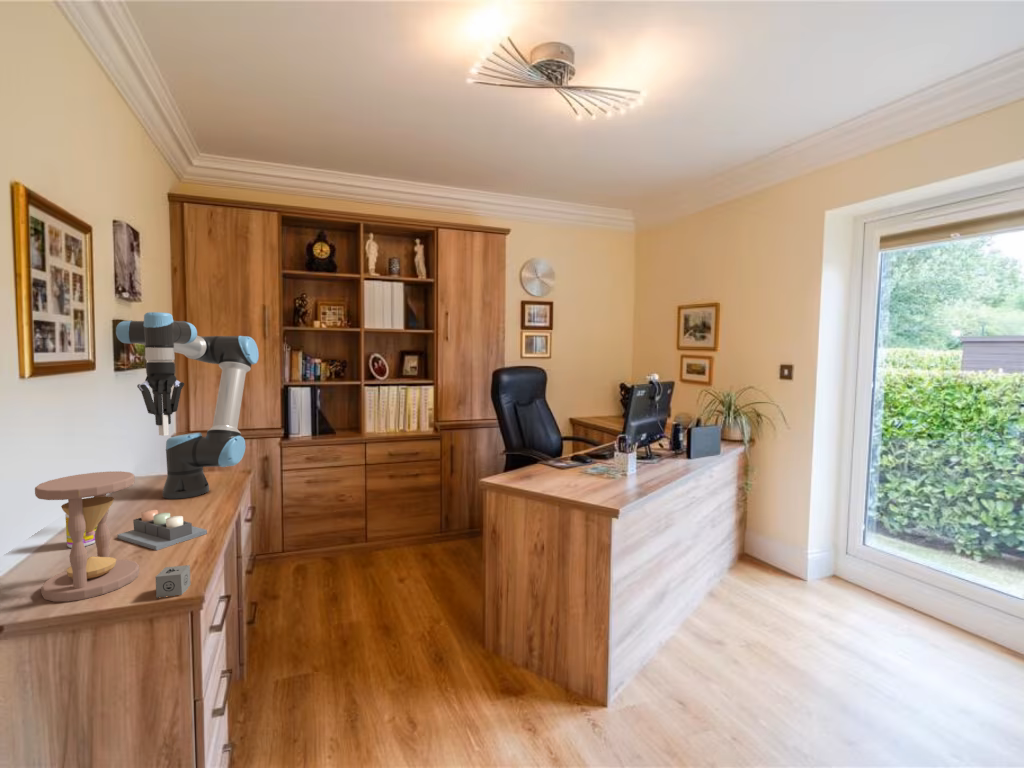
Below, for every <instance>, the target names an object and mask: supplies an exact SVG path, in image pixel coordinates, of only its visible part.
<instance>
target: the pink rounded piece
mask: <svg viewBox="0 0 1024 768" xmlns="http://www.w3.org/2000/svg"><path fill="white" fill-rule="evenodd" d="M156 514H159V510H158V509H150V510H149V509H148V510H144V511H142V512H141V513H140V516H141V517H140V518H142V521H144V522H147V521H151V520H154V519H153V516H154V515H156Z"/></svg>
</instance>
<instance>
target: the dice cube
mask: <svg viewBox="0 0 1024 768" xmlns="http://www.w3.org/2000/svg"><path fill="white" fill-rule="evenodd" d="M190 585H191V567H190V564H187V565H177V566H165V567H164V568H163V569H162V570H161V571H160V572H159V573H157V575H156V576H155V590H156V592H155V594H156V597H155V598H156V599H159V598H158V597H164V598H167V597H166V596H174V597H176V596H175V595H182V594H183V593H184V592H185V593H186V591H187V590H188V589H189V588H190V587H191V586H192V585H191V586H190ZM189 586H190V587H189ZM188 587H189V588H188ZM185 593H184V594H185ZM184 594H183V595H184ZM183 595H182V596H183Z"/></svg>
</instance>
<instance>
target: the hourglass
mask: <svg viewBox="0 0 1024 768" xmlns="http://www.w3.org/2000/svg"><path fill="white" fill-rule="evenodd" d="M134 483H135V474H133V472H129V471H121V470H120V471H119V470H118V471H97V472H87V473H81V474H74V475H68V476H63V477H59V478H55V479H49V480H47V481H44V482H42V483H39V484H37V485H36V486H35V487H34V495H35V497H36V498H37V499H39V500H44V501H66V500H67V502H66V503H63V504H62V505H61V506H60V507H61V509H62V511H63V512H64V513H65V515H66V514H67V515H68V516H69V520H68V532H69V534H70V537H71V539H72V541H73V545H72V548H70V552H69V564H70V567H68V568H67V569H66V570H65V571H62V572H60V573H57V574H56V575H53V576H52V577H50V578H48V579H47V580H46V581H45V582H44V583H43V584H42V585H41V589H40V590H41V591H40V592H41V596H42V597H43V599H44V600H46V601H51V602H54V603H59V602H60V603H61V602H62V603H63V602H64V603H65V602H75V601H81V600H87V599H90V598H91V599H92V598H94V597H97V596H102V595H106V594H108V593H111V592H114V591H116V590H118V589H122V588H123V587H124V586H125V587H126V586H127V585H129V584H131V583H132V582H133V581H134V580H136V579H137V578H138V577H139V574H140V564H138V563H137V561H135V560H129V559H117V558H115V557H111V556H110V542H111V532H110V529H109V527H108V525H107V518H108V515H109V513H110V512H109V511H110V510H109V509H110V507H112V505H113V502H114V500H115V497H113V496H107V495H108V494H111V493H116V492H119V491H122V490H126V489H128V488H129V487H132V486H133V485H134ZM82 498H84V499H82ZM96 526H97V528H96V532H95V531H94V529H95V527H96ZM85 530H86V531H87V532H86V533H85V534H86V536H91V535H94V534H95V543H94V544H95V546H96V551H97V552H96V553H97V556H89V557H88V551H87V548H86V546H84V544H83V542H82V540H83V536H84V532H85ZM135 578H136V579H135Z"/></svg>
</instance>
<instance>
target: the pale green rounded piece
mask: <svg viewBox="0 0 1024 768" xmlns="http://www.w3.org/2000/svg"><path fill="white" fill-rule="evenodd" d="M169 517H171V513H170V512H160V513H158V514H156V515H154V516H153V519H154V524H155V525H160V524H164V523H166V519H167V518H169Z"/></svg>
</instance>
